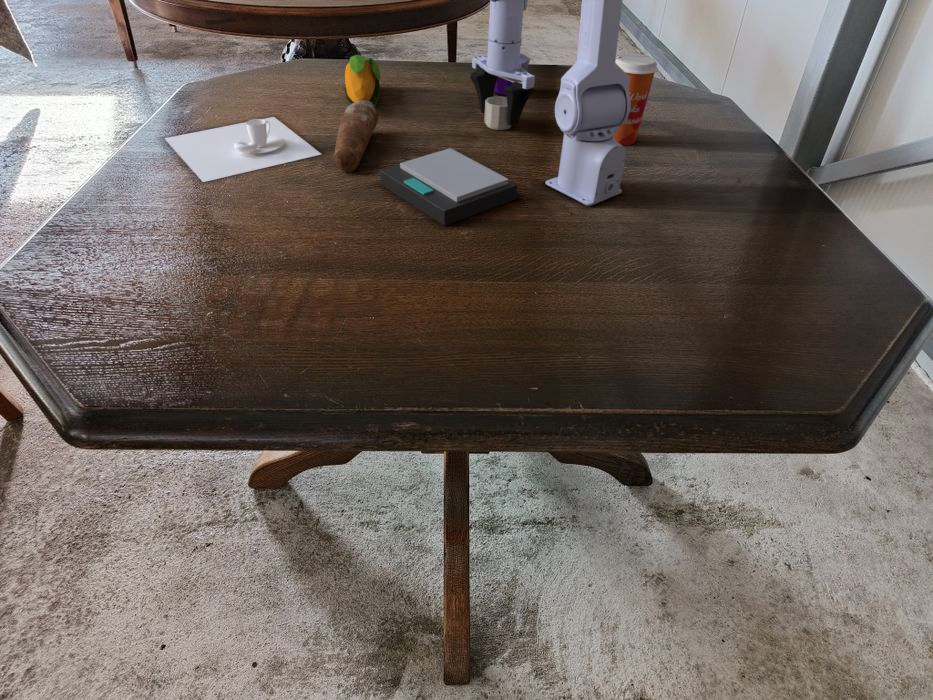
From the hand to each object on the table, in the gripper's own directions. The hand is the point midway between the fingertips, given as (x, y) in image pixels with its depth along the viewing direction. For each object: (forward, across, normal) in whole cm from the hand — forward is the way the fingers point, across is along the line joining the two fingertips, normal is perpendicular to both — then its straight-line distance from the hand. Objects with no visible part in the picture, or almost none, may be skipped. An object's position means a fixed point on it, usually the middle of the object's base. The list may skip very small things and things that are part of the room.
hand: (499, 117), depth 117 cm
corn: (+2, +25, +14) cm, 29 cm away
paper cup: (+2, -18, -14) cm, 23 cm away
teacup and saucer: (+2, +18, +43) cm, 47 cm away
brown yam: (+2, +5, +28) cm, 28 cm away
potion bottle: (+2, +13, -14) cm, 19 cm away
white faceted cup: (+1, 0, 0) cm, 1 cm away
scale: (+1, -16, +25) cm, 30 cm away
